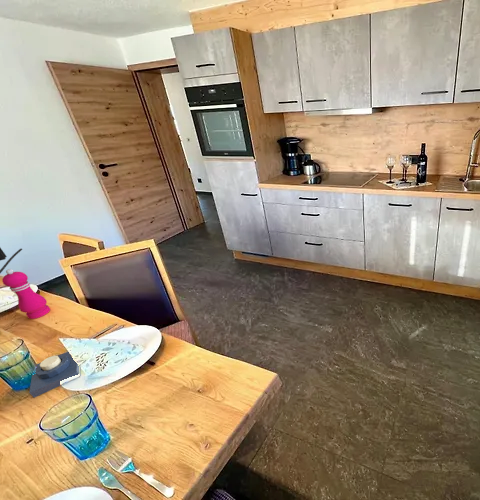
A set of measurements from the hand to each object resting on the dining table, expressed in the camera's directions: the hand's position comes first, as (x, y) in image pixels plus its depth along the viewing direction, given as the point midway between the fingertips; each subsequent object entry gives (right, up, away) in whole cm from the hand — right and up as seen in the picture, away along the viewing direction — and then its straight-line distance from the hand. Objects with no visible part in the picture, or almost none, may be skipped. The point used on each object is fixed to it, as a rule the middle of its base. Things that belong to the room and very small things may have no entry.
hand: (0, 259), depth 99 cm
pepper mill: (+1, -22, +12) cm, 25 cm away
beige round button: (+34, -30, -16) cm, 48 cm away
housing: (+34, -34, -14) cm, 50 cm away
